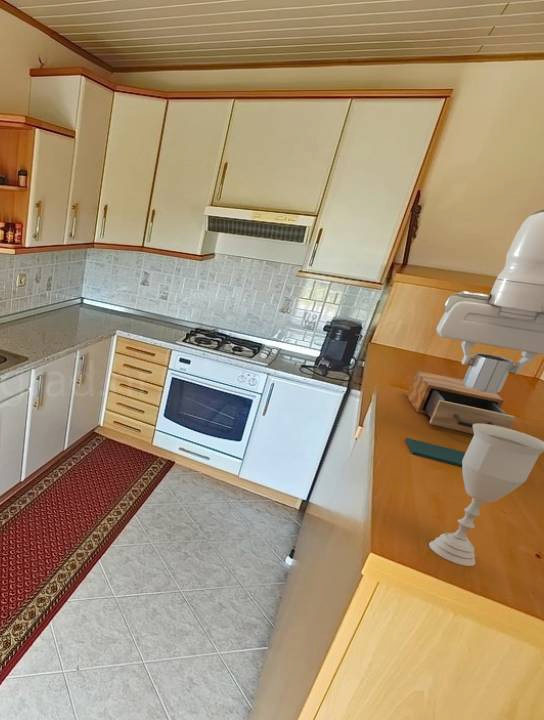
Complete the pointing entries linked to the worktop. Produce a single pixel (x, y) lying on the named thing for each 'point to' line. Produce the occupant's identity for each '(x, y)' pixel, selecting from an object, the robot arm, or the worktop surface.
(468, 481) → the chalice
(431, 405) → the wooden drawer box
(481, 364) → the gray faceted container
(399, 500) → the worktop surface
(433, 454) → the mat
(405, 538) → the worktop surface
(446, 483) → the worktop surface
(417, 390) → the wooden drawer cabinet
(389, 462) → the worktop surface
